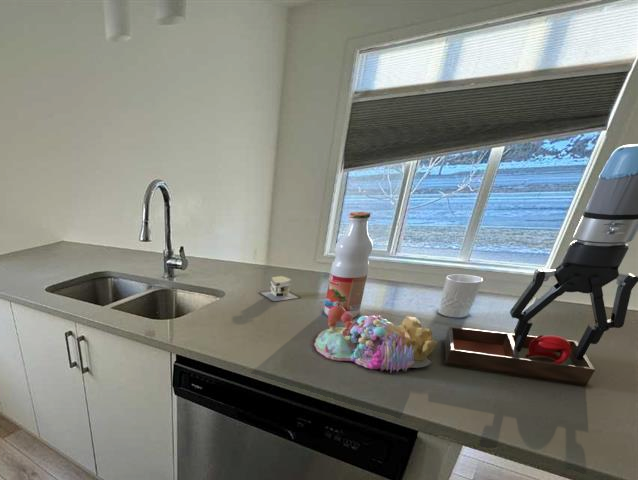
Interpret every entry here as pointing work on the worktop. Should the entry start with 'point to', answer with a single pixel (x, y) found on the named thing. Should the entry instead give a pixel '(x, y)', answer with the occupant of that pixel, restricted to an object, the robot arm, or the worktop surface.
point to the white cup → (459, 294)
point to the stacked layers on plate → (279, 289)
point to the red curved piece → (550, 347)
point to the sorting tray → (512, 357)
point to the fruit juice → (350, 266)
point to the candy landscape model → (375, 341)
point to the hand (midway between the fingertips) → (546, 352)
